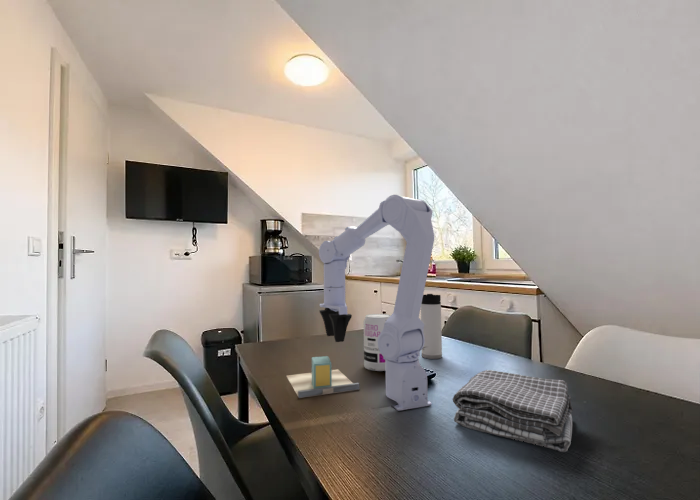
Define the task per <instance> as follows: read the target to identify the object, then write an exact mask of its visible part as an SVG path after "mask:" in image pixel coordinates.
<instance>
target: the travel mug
mask: <svg viewBox="0 0 700 500" xmlns="http://www.w3.org/2000/svg"><path fill="white" fill-rule="evenodd" d="M441 298H442V297H441V294H434V293H427V294H423V298H422V303H421V308H420V320H421V321H422V322H423V323H424V337H425V344H424V347H423V349H422V350H421V356H422V358H424V359H428V360H439V359H441V358H442V357H443V352H442V351H443V345H442V344H443V341H442V339H443V338H442V336H443V335H442V334H443V332H442V305H441V304H442V303H441Z"/></svg>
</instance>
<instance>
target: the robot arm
mask: <svg viewBox="0 0 700 500" xmlns="http://www.w3.org/2000/svg"><path fill="white" fill-rule="evenodd" d="M433 212H434V211H433V209H432V208H431V207H430V206H429V205H428V203H427V201H425V200H423V199H418V198H411V197H406V196H402V195H399V194H391V195H389V196H387V197H386V199H385V200H383V201H380V203H379V207H378V208H377V209H376V210H375V211H374V212H373V213H371V215H370V216H368V217H367V218H366V219H364V221H363V222H362V223H360V224H359V225H358V226H346V227H345V228H344V231H343V232H342V233H340V234H339V235H338V236H337V235H336V236H335V237H334V239H332V240H324V241H323V242H322V243H321V244H320V246H319V249H318V256H319V259H320V261H321V262H322V263H323V303H319V307H320V308H324V309H321V310H319V314H320V315H321V318H322V320H323V325H324V328H325V333H326V336H327V337H333V338H334V341H335V343H342V342H345V337H346V333H347V329H348V325H349V323H350V321H351V319H352V317H353V314H351V313H348V306H347V303H346V269H347V268H348V262H349V259H350V257H351V255H352V254H354V253H355V252H356V251H358V250H359V249H361V248H362V247H364V246H365V243H366V239H367V238H368V237H371V236H372V235H374V234H376V233H377V232H378V231H380V230H382V229H383V228H386V227H387V226H391V227H392V228H393V229H395V230H396V231H397V232H399V233H400V234H401V237H403V239H404V240H405V243H406V244H405V245H406V246H405V249H404V255H403V260H402V265H401V270H400V276H399V280H398V281H399V282H398V287H397V291H396V298H395V302H394V307H393V312H392V313H391V314H390V315H391V316H390V317H389V318H388V319H387V320H386V322H385V323H384V328H383V330H382V332H381V333H380V335H379V337H378V348H379V351H380V353H381V354H382V355H383V359H385V371H384V372H385V396H386V397H387V398H388V399H390V400H393V401H395V402H396V404H395V403H394V404H391V407H393V408H394V409H395V410H396V411H399V412H400V411H405V410H410V409H411V410H412V409H417V408H423V407H428V406H431V405H432V402H431V401H430V400H428V399H429V397H428V376H427V371H426V370H425V368H424V367H422V366H421V363H420V358H419V357H420V356H421V352H422V349H423V347H424V344H425V337H424V323H423V322H422V321H421V317H420V314H421V303H422V298H423V295H424V292H425V287H426V282H427V278H428V272H429V268H430V262H431V257H432V252H433V247H434V243H435V233H434V232H435V231H434V228H433V227H434V226H433V222H432V217H433Z"/></svg>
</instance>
